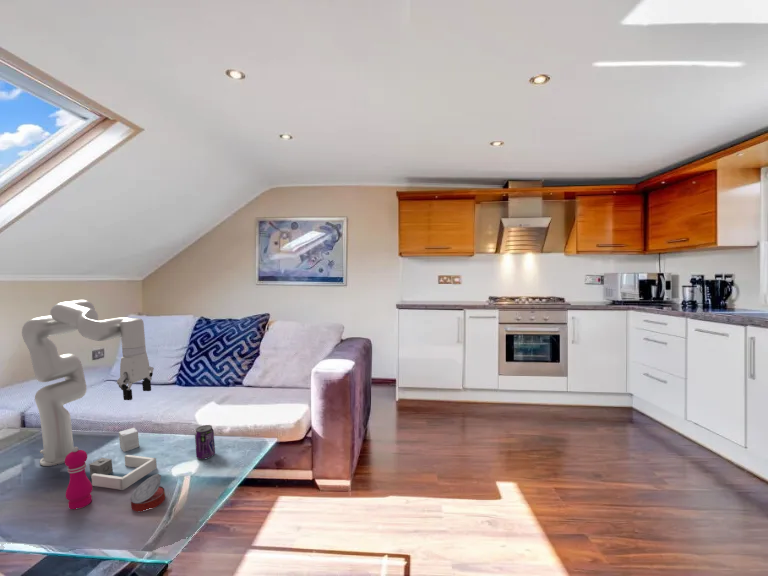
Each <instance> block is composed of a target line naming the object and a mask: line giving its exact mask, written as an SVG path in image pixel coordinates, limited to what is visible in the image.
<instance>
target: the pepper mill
mask: <svg viewBox="0 0 768 576" xmlns="http://www.w3.org/2000/svg"><path fill="white" fill-rule="evenodd" d="M87 460H88V453H87V452H86V451H85V450H83V449H80V448H79V447H78V446H74V447H73V448H72V452H71V453H69V454H68V455H67V456H66V458H65V463H64V465H65V467H67V473H68V474H69V483H68V484H67V487H66V490H65V499H66V500H67V501H68V502H67V503H68V509H69V508H70V509H69V510H72V509H74V510H77V509H76V508H80V509H82V508H85V507H86V506H88V505H90V504H91V502H92V501H93V497H92V496H93V495H92V492H93V486H92V481H90V479H89V478H88V476H87V473H86V468H87V463H86V462H87Z"/></svg>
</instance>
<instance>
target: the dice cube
mask: <svg viewBox="0 0 768 576" xmlns="http://www.w3.org/2000/svg"><path fill="white" fill-rule="evenodd" d="M112 461H113V460H112V459H111V458H106V457H101V458H99V459H96V460H95V461H93V462H91V463H89V464H88V466H89V473H90V474H89V476H90V478H91V475H92V474H94V473H96V474H103V475H109V474H111V473H113V470H114V469H113V462H112Z"/></svg>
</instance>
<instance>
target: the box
mask: <svg viewBox="0 0 768 576" xmlns="http://www.w3.org/2000/svg"><path fill="white" fill-rule="evenodd" d="M124 465H125V467H130V468H131V467H132V468H135V469H133V470H131V471H130V472H128V473H127V474H125V475H124V476H117V475H111V474H110V475H109V474H107V475H103V474H96V473H94V474H92V475H91V477H90V478H91V484H92V487H93V486H94V487H100V488H107V489H112V490H120V491H124V490H126V489H127V488H128V487H130V486H132V485H134V483H136V482H138V481H139V480H141V479H142V478H144V477H145V476H147V475H149V474H150V473H151V472H153V471H155V470H157V468H158V467H157V465H158V464H157V458H156V457H149V456H140V455H131V454H126V455H124Z"/></svg>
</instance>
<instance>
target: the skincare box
mask: <svg viewBox="0 0 768 576" xmlns="http://www.w3.org/2000/svg"><path fill="white" fill-rule="evenodd" d="M118 439H119V448H120V449H121V451H122V452H123V453H125V452H128V451H131V450H135V449H137V448H139V447H140V440H139V439H140V438H139V431H138V430H137V428H135V427H132V428H128V429H124V430H121V431H118Z"/></svg>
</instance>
